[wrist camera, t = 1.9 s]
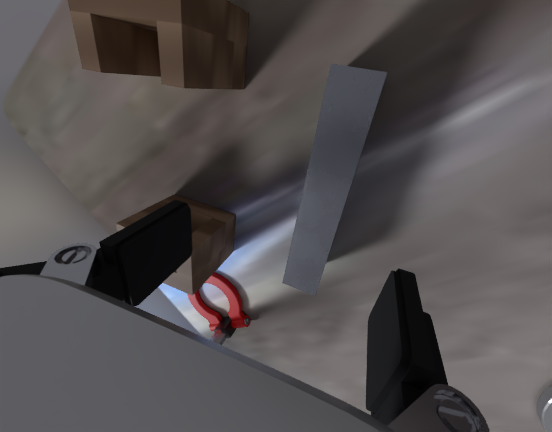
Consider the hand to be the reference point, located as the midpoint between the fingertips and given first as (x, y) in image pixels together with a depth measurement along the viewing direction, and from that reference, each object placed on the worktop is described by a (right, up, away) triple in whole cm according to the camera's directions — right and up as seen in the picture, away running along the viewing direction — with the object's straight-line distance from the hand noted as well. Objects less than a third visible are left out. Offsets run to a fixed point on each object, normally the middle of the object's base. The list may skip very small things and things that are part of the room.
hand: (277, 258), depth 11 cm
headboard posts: (-7, +8, +13) cm, 17 cm away
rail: (+5, +5, +10) cm, 12 cm away
